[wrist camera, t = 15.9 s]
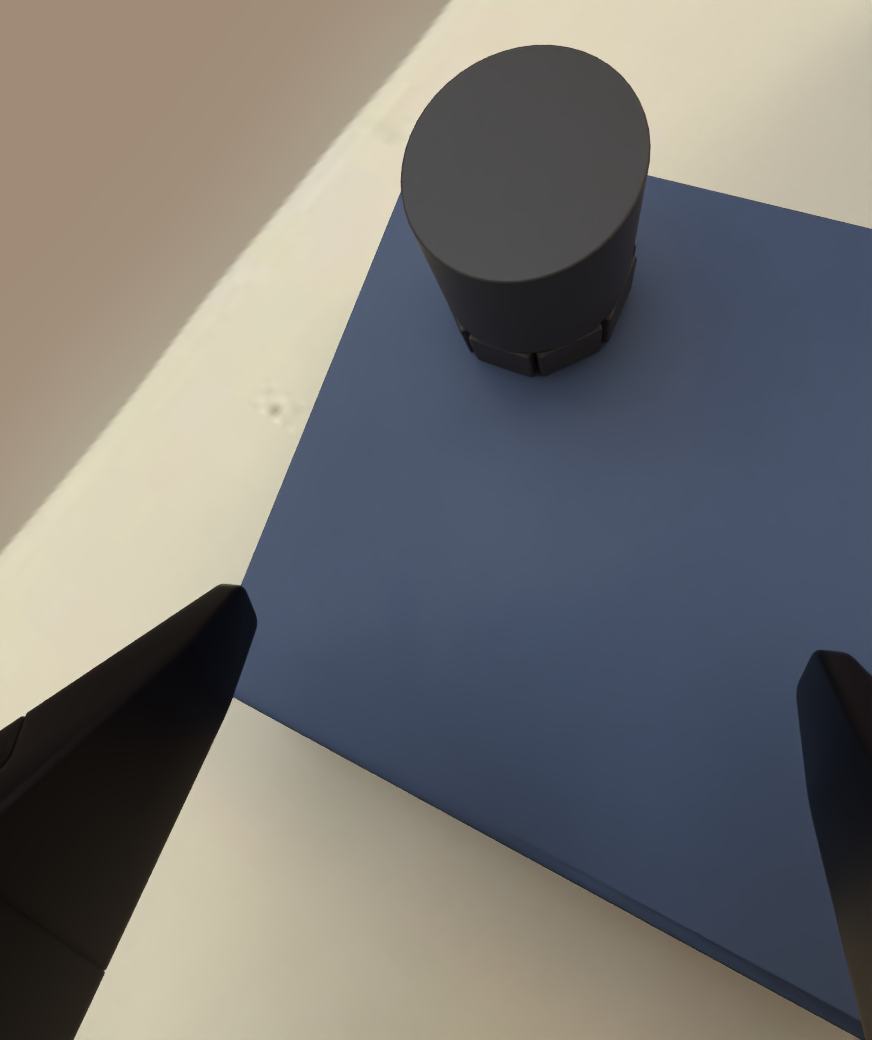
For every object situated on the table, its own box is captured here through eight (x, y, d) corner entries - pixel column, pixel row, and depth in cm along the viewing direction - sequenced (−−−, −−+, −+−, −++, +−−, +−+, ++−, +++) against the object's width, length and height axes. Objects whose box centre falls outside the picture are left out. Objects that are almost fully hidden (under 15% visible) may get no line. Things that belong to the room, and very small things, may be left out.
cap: (655, 326, 14) (695, 205, 9) (490, 401, 15) (451, 325, 10) (583, 177, 15) (587, -4, 10) (429, 257, 15) (366, 124, 11)
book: (932, 998, 15) (1055, 1146, 11) (274, 658, 20) (201, 680, 16) (1186, 410, 15) (1403, 355, 11) (457, 210, 20) (428, 121, 16)
